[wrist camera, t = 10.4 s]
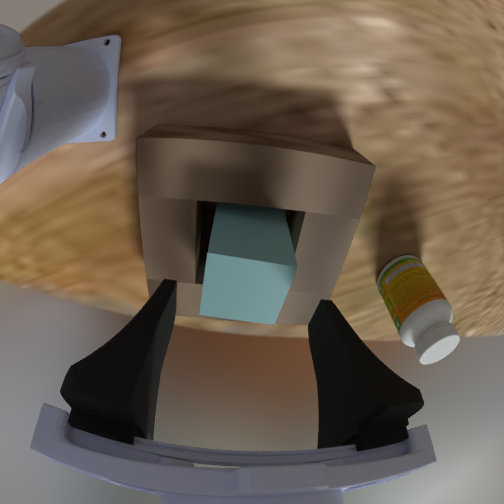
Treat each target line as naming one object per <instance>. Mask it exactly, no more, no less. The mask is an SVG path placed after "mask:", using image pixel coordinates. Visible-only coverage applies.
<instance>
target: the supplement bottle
mask: <svg viewBox="0 0 504 504" xmlns="http://www.w3.org/2000/svg"><path fill="white" fill-rule="evenodd" d="M377 286H378V290H379V292H380V294H381V296H382V298H383V300H384V302H385V304H386V307H387V309H388V311H389V313H390V315H391V317H392V320H393V322H394V324H395V326H396V328H397V331H398V333H399V335H400V338H401V339H402V341H403V343H405V344H406V345H408V346H410V347H414V349H415V352H416V355H417V357H418V359H419V361H420V363H422V364H431V363H434V362H436V361H438V360H440V359H442V358H444V357H445V356H447V355H448V354H449V353H450V352H451V351H452V350H454V348H455V347H456V346H457V344H458V343H459V340H460V337H459V334H458V332H457V330H456V328H455V326H454V325H453V324H452V323H451V321H452V318H453V310H452V307H451V305H450V303H449V302H448V300H447V299H446V297H445V295H444V294H443V292H442V291H441V289H440V288H439V286H438V285H437V283H436V282H435V280H434V279H433V277H432V276H431V274H430V273H429V271H428V270H427V268H426V267H425V266H424V264H423V263H422V262H421V260H420V259H419V258H417V257H415V256H412V255H404V256H400V257H397V258H395V259H394V260H392V261H391V262H389V263H388V264H387V265H386V266H385V267H384V268H383V270H382V271H381V273H380V275H379V277H378V281H377Z"/></svg>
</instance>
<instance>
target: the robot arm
mask: <svg viewBox="0 0 504 504" xmlns="http://www.w3.org/2000/svg"><path fill="white" fill-rule="evenodd" d="M107 40H110V43H109V44H108V45H106V41H107ZM121 41H122V40H121V37H120V36H119V35H110V36H104V37H99V38H94V39H89V40H84V41H80V42H76V43H72V44H68V45H64V46H37V47H25V45H24V44H23V42H22V39H21V36H20V34H19V33H18V32H17V31H15V30H14V29H12V28H10V27H8V26H5V25H2V24H0V184H1V183H2V182H3V181H4V180H6V179H7V178H9V177H10V176H11V175H13V174H14V173H16V172H17V171H19V170H20V169H22V168H24V167H25V166H27V165H28V164H30V163H32V162H33V161H35V160H36V159H38V158H40V157H42V156H43V155H45V154H47V153H48V152H50V151H52V150H54V149H56V148H57V147H59V146H61V145H63V144H65V143H78V142H96V141H111V140H113V139H115V138H116V136H117V92H118V73H119V61H120V50H121ZM103 131H104V132H105V133H106V137H104V136H103V134H102V133H103ZM176 307H177V280H170V279H163V280H162V282H161V283H160V285H159V286H158V288H157V289H156V291H155V292H154V294H153V295H152V296H151V298H150V299H149V300H148V301H147V303H146V304H145V305H144V306H143V308H142V309H141V310H140V311H139V312H138V313H137V314H136V315H135V317H134V318H133V319H132V320H131V321H130V322H129V323H128V324H127V325H126V326H125V327H124V328H123V329H122V330H121V331H120V332H119V333H118V334H116V335H115V336H114V337H113V338H112V339H110V340H109V341H108V342H107V343H106V344H104V345H103V346H102V347H100V348H99V349H97V350H96V351H94V352H93V353H92V354H90V355H89V356H87V357H86V358H84V359H82V360H80V361H79V362H77V363H75V364H73V365H71V367H70V368H69V371H68V372H67V374H66V376H65V379H64V381H63V384H62V387H61V390H60V393H61V395H62V397H63V398H64V400H65V401H66V402H67V403H68V404H69V406H70V407H71V408H72V409H71V412H70V414H69V413H68V412H66V411H64V410H62V409H59V408H57V407H54V406H52V405H49V404H47V403H43V406H42V408H41V412H40V415H39V418H38V421H37V424H36V428H35V431H34V435H33V439H32V442H31V448H32V449H33V450H35V451H36V452H38V453H40V454H41V455H43V456H45V457H47V458H48V459H50V460H52V461H54V462H56V463H59V464H61V465H63V466H66V467H68V468H71V469H73V470H76V471H78V472H81V473H83V474H86V475H89V476H92V477H95V478H98V479H100V480H104V481H107V482H110V483H114V484H116V485H120V486H124V487H128V488H132V489H135V490H139V491H143V492H148V493H153V494H157V495H161V504H343V499H342V493H344V492H349V491H353V490H357V489H361V488H365V487H368V486H372V485H376V484H379V483H382V482H386V481H389V480H392V479H395V478H398V477H401V476H404V475H407V474H410V473H412V472H414V471H417V470H419V469H421V468H423V467H425V466H428V465H429V464H432V463H434V462H436V457H435V453H434V449H433V445H432V441H431V438H430V434H429V431H428V428H427V425H422V426H419V427H415V428H412V429H410V430H407V428H406V426H407V425H408V424H409V422H408V418H410V417H411V416H412V415H414V414H415V413H416V412H418V411H419V410H420V409H421V408H422V407H423V405H424V401H423V398H422V395H421V392H420V390H419V389H418V388H416V387H414V386H413V385H411V384H410V383H408V382H406V381H405V380H404V379H402V378H400V377H399V376H398V375H397V374H395V373H394V372H393V371H392V370H390V369H389V368H388V367H387V366H386V365H385V364H384V363H383V362H381V361H380V360H379V359H378V358H377V357H376V356H375V355H374V354H373V353H372V352H371V351H370V349H369V348H368V347H367V346H366V345H365V344H364V343H363V341H362V340H361V339H360V338H359V336H358V335H357V334H356V333H355V331H354V330H353V329H352V327H351V326H350V325H349V323H348V322H347V321H346V319H345V318H344V317H343V315H342V314H341V312H340V311H339V310H338V308H337V307H336V305H335V304H334V303H333V302H332V300H323V299H321V300H320V302H319V304H318V306H317V308H316V310H315V312H314V314H313V316H312V318H311V320H310V322H309V324H308V335H309V344H310V350H311V355H312V360H313V364H314V369H315V374H316V379H317V388H318V403H319V404H318V405H319V432H318V446H317V449H311V450H297V451H233V450H218V449H207V448H198V447H190V446H182V445H176V444H169V443H164V442H158V441H153V435H154V422H155V411H156V403H157V395H158V388H159V381H160V375H161V369H162V365H163V361H164V358H165V354H166V351H167V347H168V344H169V340H170V337H171V333H172V330H173V326H174V320H175V315H176ZM193 463H198V464H208V465H220V466H240V468H209V467H194V464H193Z"/></svg>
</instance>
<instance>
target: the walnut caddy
mask: <svg viewBox="0 0 504 504" xmlns="http://www.w3.org/2000/svg"><path fill="white" fill-rule="evenodd" d="M136 153H137V184H138V202H139V215H140V227H141V237H142V247H143V255H144V263H145V271H146V278H147V285H148V291H149V298H151V296H152V295H153V294H154V292H155V291H156V289H157V288H158V286H159V285H160V283H161V282H162V280H163V279H170V280H177V307H176V315H178V316H187V317H196V318H206V319H217V320H229V321H240V320H232V319H225V318H218V317H211V316H204V315H199V313H200V305H201V297H202V289H203V281H204V274H205V267H206V260H207V253H208V252H202V229H203V207H204V201H212V202H223V203H233V204H243V205H253V206H262V207H271V208H280V209H288V210H291V211H290V216H289V220H288V228H289V232H290V236H291V240H292V245H293V249H294V253H295V257H296V261H297V265H298V268H297V271H296V273H295V276H294V278H293V281H292V283H291V286H290V288H289V291H288V293H287V296H286V298H285V301H284V303H283V305H282V308H281V310H280V313H279V315H278V318H277V320H276V322H275V324H297V325H308V324H309V322H310V320H311V318H312V316H313V314H314V312H315V310H316V308H317V306H318V304H319V302H320V300H321V299H323V300H329V299H330V296H331V294H332V291H333V289H334V286H335V284H336V282H337V279H338V276H339V274H340V271H341V269H342V266H343V264H344V261H345V258H346V256H347V253H348V250H349V248H350V245H351V242H352V239H353V236H354V234H355V231H356V228H357V225H358V222H359V219H360V216H361V213H362V210H363V207H364V204H365V201H366V198H367V194H368V191H369V188H370V185H371V181H372V178H373V174H374V171H375V168H376V166H375V165H373V164H372V163H371V162H370V161H368V160H367V159H366V158H365V157H363V156H362V155H361V154H360V153H358V152H357V151H356V150H354V149H351V148H347V147H343V146H338V145H333V144H328V143H323V142H318V141H313V140H307V139H302V138H296V137H289V136H283V135H276V134H269V133H261V132H253V131H244V130H234V129H223V128H210V127H193V126H162V125H157V126H155V127H153V128H151V129H150V130H148V131H147V132H145V133H143V134H142V135H140V136H138V137H137V138H136ZM242 322H247V321H242Z"/></svg>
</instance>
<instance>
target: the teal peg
mask: <svg viewBox="0 0 504 504" xmlns="http://www.w3.org/2000/svg"><path fill="white" fill-rule="evenodd" d="M297 268H298V265H297V261H296V257H295V253H294V249H293V245H292V240H291V236H290V232H289V228H288V224H287V220H286V217H285V213H284V209H280V208H271V207H262V206H253V205H243V204H233V203H223V202H217V207H216V212H215V217H214V222H213V227H212V232H211V237H210V242H209V247H208V253H207V260H206V267H205V274H204V281H203V289H202V297H201V305H200V313H199V315H204V316H211V317H218V318H225V319H232V320H240V321H247V322H256V323H264V324H273V325H275V322H276V320H277V318H278V315H279V313H280V310H281V308H282V305H283V303H284V301H285V298H286V296H287V293H288V291H289V288H290V286H291V283H292V281H293V278H294V276H295V273H296V271H297Z"/></svg>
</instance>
